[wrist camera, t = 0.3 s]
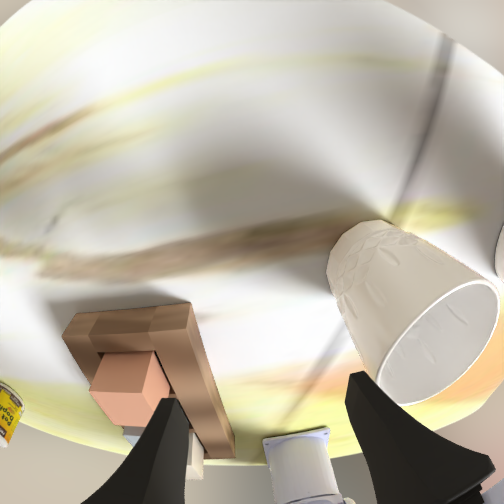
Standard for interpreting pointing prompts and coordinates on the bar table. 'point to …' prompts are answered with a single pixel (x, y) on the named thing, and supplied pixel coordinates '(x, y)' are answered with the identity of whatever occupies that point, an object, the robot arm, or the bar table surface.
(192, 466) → the off-white cube
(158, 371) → the salmon orange cube
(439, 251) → the white cup
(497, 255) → the fruit juice
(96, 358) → the wooden tray
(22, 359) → the bar table surface
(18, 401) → the supplement bottle
